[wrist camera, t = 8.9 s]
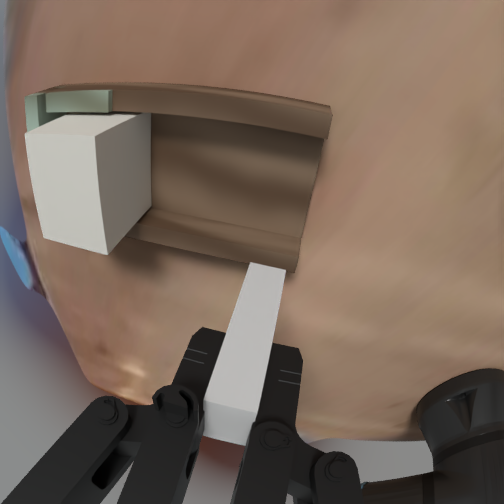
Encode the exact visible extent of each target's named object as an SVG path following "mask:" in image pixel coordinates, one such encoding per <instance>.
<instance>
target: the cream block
mask: <svg viewBox="0 0 504 504" xmlns="http://www.w3.org/2000/svg"><path fill="white" fill-rule="evenodd" d="M25 141H26V149H27V156H28V163H29V169H30V175H31V181H32V187H33V192H34V197H35V202H36V207H37V211H38V216H39V220H40V224H41V228H42V232H43V236H44V238H46V239H49V240H53V241H57V242H60V243H64V244H68V245H71V246H75V247H79V248H82V249H86V250H90V251H94V252H98V253H101V254H105V255H109V253H110V252H111V251H112V250H113V249H114V247H115V246H116V245H117V244H118V243H119V242H120V240H121V239H122V238H123V237H124V236H125V235H126V234H127V232H128V231H129V230H130V229H131V228H132V227H133V226H134V224H135V223H136V222H137V221H138V220H139V219H140V218H141V217H142V216H143V214H144V213H145V212H146V211H147V210H148V209H149V208H150V207H151V206H152V202H151V113H144V112H126V111H111V112H109V113H105V112H72V113H69V114H67V115H65V116H62V117H60V118H58V119H55V120H53V121H51V122H48V123H46V124H44V125H42V126H40V127H37V128H35V129H33V130H31V131H29V132H27V133H25Z"/></svg>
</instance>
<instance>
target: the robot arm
mask: <svg viewBox="0 0 504 504" xmlns="http://www.w3.org/2000/svg"><path fill="white" fill-rule="evenodd" d="M285 273H286V270H284V269H279V268H274V267H270V266H265V265H261V264H256V263H252V262H250V265H249V268H248V271H247V274H246V277H245V280H244V282H243V285H242V288H241V291H240V294H239V297H238V300H237V303H236V306H235V309H234V312H233V315H232V318H231V321H230V324H229V326H228V329H227V332H226V333H224V332H220V331H216V330H212V329H208V328H204V327H202V328H201V329H199V330H198V331H197V332H196V333H195V334H194V335H193V336H192V338H191V340H190V342H189V345H188V347H187V350H186V352H185V354H184V356H183V359H182V361H181V363H180V366H179V368H178V370H177V373H176V375H175V377H174V380H173V382H172V384H171V385H168V386H164V387H162V388H160V389H159V390H157V391H156V392H155V394H154V395H153V396H152V399H153V403H154V404H152V405H125V404H124V403H123V402H122V401H121V400H120V399H118V398H116V397H113V396H103V397H99V398H97V399H96V400H94V401H93V402H92V403H91V404H90V405H89V406H88V407H87V408H86V409H85V410H84V411H83V413H82V414H81V415H80V416H79V417H78V418H77V419H76V420H75V421H74V423H72V425H71V426H70V427H69V428H68V429H67V430H66V431H65V432H64V434H63V435H62V436H61V437H60V438H59V439H58V440H57V441H56V442H55V443H54V445H53V446H52V447H51V448H50V449H49V450H48V451H47V453H45V455H44V456H43V457H42V458H41V459H40V460H39V461H38V462H37V464H36V465H35V466H34V467H33V468H32V469H31V470H30V471H29V473H28V474H27V475H26V476H25V477H24V478H23V479H22V480H21V482H20V483H19V484H18V485H17V486H16V488H14V490H13V491H12V492H11V493H10V494H9V495H8V496H7V498H6V499H5V500H4V501H3V502H2V503H1V504H100V503H101V502H102V501H103V499H104V498H105V497H106V496H107V494H108V493H109V492H110V490H111V489H112V488H113V487H114V485H115V484H116V483H117V482H118V480H119V479H120V478H121V477H122V475H123V474H124V473H125V471H126V470H127V469H128V467H129V466H130V465H131V463H132V462H133V461H134V462H133V465H132V468H131V470H130V473H129V475H128V477H127V480H126V482H125V485H124V487H123V489H122V492H121V495H120V497H119V499H118V502H117V504H182V502H183V499H184V496H185V493H186V490H187V487H188V484H189V481H190V478H191V474H192V471H193V468H194V465H195V462H196V459H197V456H198V453H199V444H200V441H201V438H202V435H203V436H207V437H211V438H215V439H218V440H223V441H227V442H231V443H235V444H239V445H244V446H245V450H244V454H243V458H242V461H241V463H240V466H239V467H240V468H239V472H238V476H237V480H236V484H235V488H234V491H233V495H232V499H231V503H230V504H285V502H286V496H287V493H288V494H290V495H292V496H293V502H294V504H504V371H503V370H500V369H482V370H477V371H473V372H469V373H466V374H463V375H461V376H458V377H456V378H453V379H451V380H449V381H447V382H445V383H443V384H441V385H440V386H438V387H437V388H435V389H434V390H432V391H431V392H430V393H428V394H427V395H426V396H425V397H424V398H423V399H422V400H421V401H420V403H419V404H418V406H417V421H418V426H419V428H420V429H421V431H422V433H423V435H424V437H425V440H426V442H427V444H428V447H429V449H430V451H431V453H432V456H433V470H434V471H433V472H429V473H424V474H420V475H414V476H409V477H403V478H398V479H392V480H385V481H377V482H363V483H362V484H360V479H359V474H358V469H357V466H356V464H355V461H354V460H353V459H352V458H351V457H350V456H349V455H347V454H345V453H343V452H335V451H333V452H329V453H324V452H322V451H320V450H318V449H316V448H314V447H311V446H310V445H308V444H306V443H305V442H304V441H303V440H302V439H301V438H300V437H299V435H298V433H297V431H296V427H295V420H296V413H297V406H298V398H299V390H300V382H301V374H302V365H303V359H302V356H301V354H300V351H299V348H295V347H290V346H285V345H280V344H275V343H272V341H273V336H274V331H275V326H276V321H277V316H278V311H279V305H280V300H281V295H282V289H283V284H284V279H285Z"/></svg>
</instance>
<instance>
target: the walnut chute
mask: <svg viewBox="0 0 504 504" xmlns="http://www.w3.org/2000/svg"><path fill="white" fill-rule="evenodd" d="M25 110H26V123H27V132H29V131H31V130H33V129H35V128H37V127H40V126H42V125H44V124H46V123H48V122H51V121H53V120H55V119H58V118H60V117H62V116H65V115H67V114H69V113H72V112H105V113H109V112H111V111H126V112H144V113H151V202H152V206H151V207H150V208H149V209H148V210H147V211H146V212H145V213H144V214H143V216H142V217H141V218H140V219H139V220H138V221H137V222H136V223H135V224H134V226H133V227H132V228H131V229H130V230H129V231H128V232H127V234H126V235H125V237H130V238H134V239H139V240H143V241H148V242H152V243H157V244H161V245H166V246H170V247H175V248H179V249H184V250H188V251H193V252H197V253H202V254H207V255H211V256H216V257H220V258H225V259H230V260H234V261H239V262H244V263H248V264H250V262H252V263H256V264H261V265H265V266H270V267H274V268H279V269H284V270H286V272H291V273H295V270H296V266H297V262H298V258H299V251H300V242H301V236H302V232H303V228H304V224H305V219H306V215H307V211H308V207H309V203H310V199H311V195H312V190H313V186H314V182H315V177H316V173H317V169H318V164H319V160H320V155H321V151H322V146H323V142H324V139H328V134H329V130H330V125H331V121H332V116H333V115H332V112H331V108H330V106H327V105H323V104H318V103H313V102H308V101H304V100H298V99H293V98H288V97H282V96H276V95H270V94H264V93H257V92H251V91H243V90H235V89H227V88H218V87H208V86H196V85H183V84H165V83H85V84H68V85H59V86H56V87H53V88H49V89H46V90H43V91H40V92H37V93H34V94H31V95H28V96H25Z"/></svg>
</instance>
